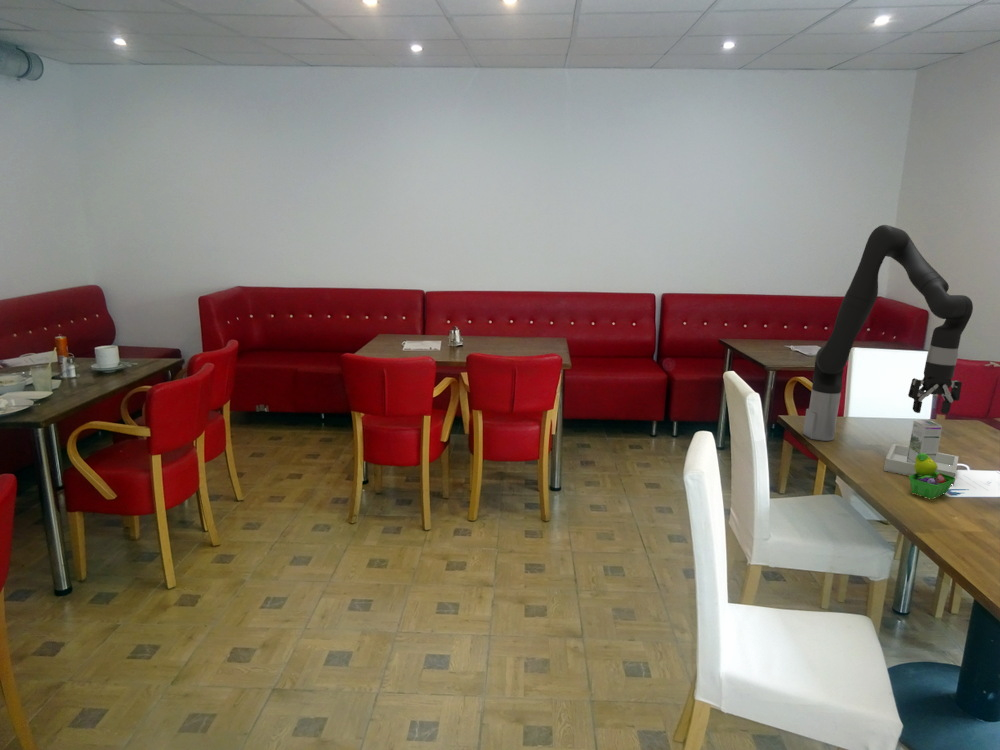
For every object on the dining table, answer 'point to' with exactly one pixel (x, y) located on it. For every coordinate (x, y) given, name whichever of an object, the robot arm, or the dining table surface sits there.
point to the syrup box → (924, 439)
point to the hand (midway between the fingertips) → (930, 412)
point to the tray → (899, 464)
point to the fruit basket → (928, 478)
